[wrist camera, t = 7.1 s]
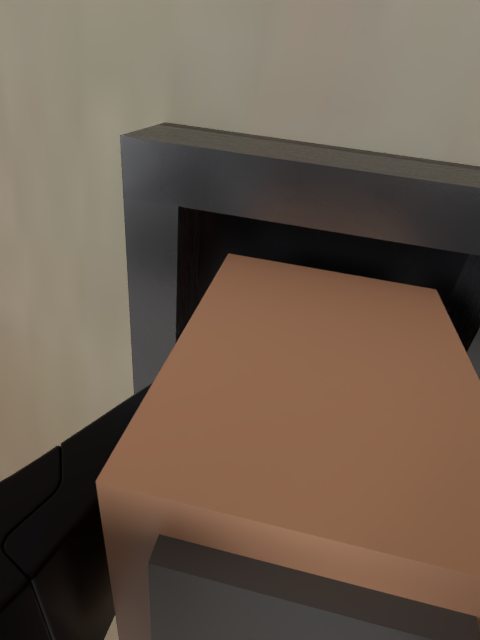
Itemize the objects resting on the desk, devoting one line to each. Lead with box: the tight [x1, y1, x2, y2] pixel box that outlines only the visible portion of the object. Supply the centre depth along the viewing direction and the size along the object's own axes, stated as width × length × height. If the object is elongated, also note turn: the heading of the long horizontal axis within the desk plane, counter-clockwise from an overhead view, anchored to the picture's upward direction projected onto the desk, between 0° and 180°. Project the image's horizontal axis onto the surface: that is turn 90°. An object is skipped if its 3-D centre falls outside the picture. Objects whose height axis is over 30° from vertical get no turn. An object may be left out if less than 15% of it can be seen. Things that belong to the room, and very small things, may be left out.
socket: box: [120, 123, 480, 394], centre depth 11 cm, size 9×9×2 cm
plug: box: [96, 253, 480, 640], centre depth 7 cm, size 4×4×6 cm
